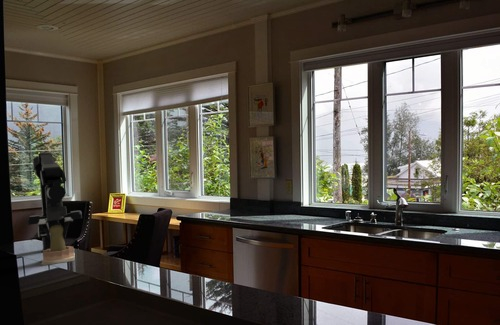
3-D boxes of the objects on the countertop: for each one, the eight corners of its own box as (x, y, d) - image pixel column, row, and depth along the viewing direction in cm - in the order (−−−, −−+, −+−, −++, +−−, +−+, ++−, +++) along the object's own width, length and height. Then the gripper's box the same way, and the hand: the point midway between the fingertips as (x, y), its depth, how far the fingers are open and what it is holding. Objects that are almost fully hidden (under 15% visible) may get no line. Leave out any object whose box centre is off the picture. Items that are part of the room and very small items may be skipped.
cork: (62, 255, 161) (60, 226, 161) (46, 256, 161) (44, 227, 161) (69, 251, 167) (67, 223, 167) (54, 252, 167) (52, 224, 167)
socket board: (44, 259, 167) (43, 248, 167) (75, 255, 171) (74, 244, 171) (42, 265, 157) (41, 254, 157) (74, 260, 161) (73, 249, 161)
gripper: (23, 203, 153) (27, 247, 153) (79, 198, 160) (83, 239, 160) (27, 201, 163) (31, 241, 164) (80, 196, 170) (83, 235, 170)
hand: (57, 239), depth 164 cm, fingers closed on cork, 5 cm apart
